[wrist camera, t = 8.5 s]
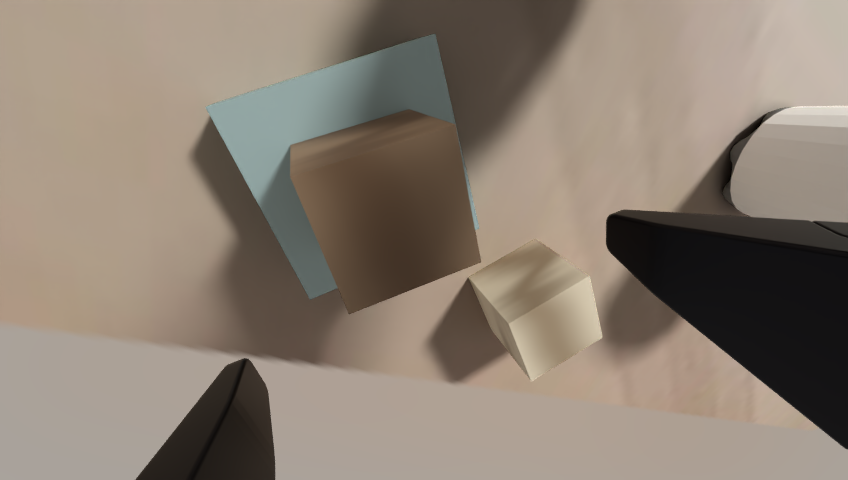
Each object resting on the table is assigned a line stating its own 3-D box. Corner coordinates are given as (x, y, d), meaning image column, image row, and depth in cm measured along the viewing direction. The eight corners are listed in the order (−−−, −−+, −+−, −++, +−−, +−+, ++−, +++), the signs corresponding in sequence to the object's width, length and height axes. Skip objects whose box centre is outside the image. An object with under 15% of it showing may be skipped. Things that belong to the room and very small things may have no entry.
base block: (413, 39, 17) (435, 33, 14) (456, 209, 21) (479, 228, 19) (219, 101, 16) (205, 107, 13) (307, 270, 20) (309, 299, 17)
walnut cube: (409, 109, 15) (455, 124, 11) (434, 215, 18) (481, 262, 13) (290, 144, 14) (290, 177, 10) (334, 251, 17) (348, 314, 12)
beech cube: (534, 238, 24) (589, 275, 19) (550, 293, 26) (602, 337, 22) (467, 276, 23) (508, 323, 19) (490, 329, 26) (531, 381, 21)
